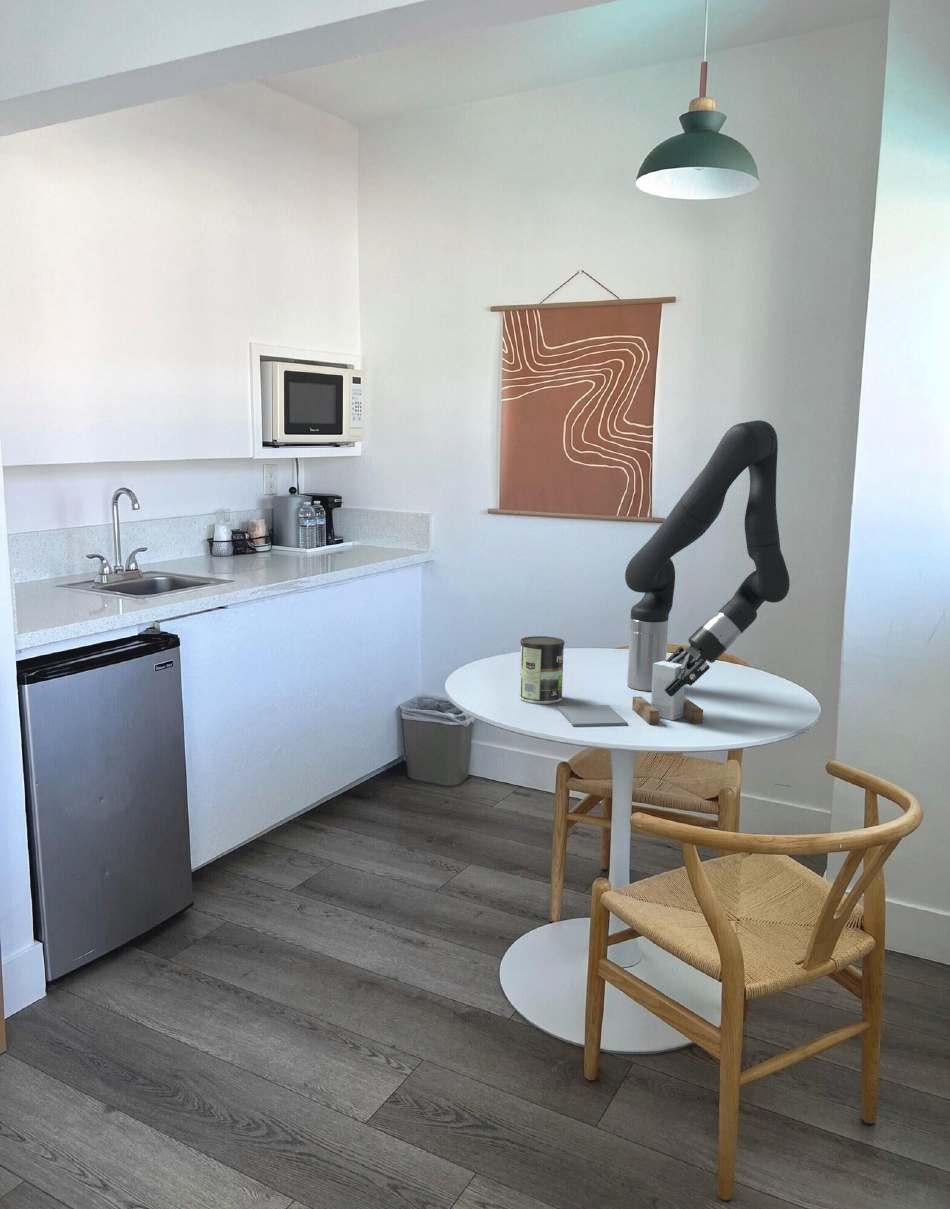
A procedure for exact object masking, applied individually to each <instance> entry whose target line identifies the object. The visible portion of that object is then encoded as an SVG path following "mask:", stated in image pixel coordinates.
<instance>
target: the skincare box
mask: <svg viewBox="0 0 950 1209" xmlns="http://www.w3.org/2000/svg"><path fill="white" fill-rule="evenodd" d="M681 666H682V664H677V663H672V662H667V661H661V662H657V663H653V679H652V691H651V703H650V704H651V705H652V706H654V707H655V708H656V709H657V710H658V711H659V718H661V719H665V720H669V721H670V720H671V721H675V720H678V719H681V718H683V717H684V716H683V704H684V697H685V686H684V685H683V686H682V687H681V688H680V689H679V690H678V691H677V692H676V693H675V694H674V695H673V696H669V695H668V694H667V693H666V692H665V688H666V687H667V686H668V685H669V684H670V683H671V682H672V681H673V680H674V679H675V678H677V677H678V675H679V673H680V667H681ZM677 679H678V678H677Z"/></svg>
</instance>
